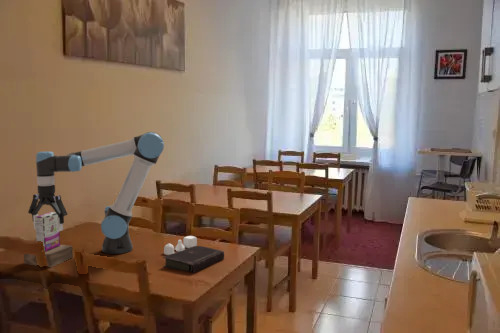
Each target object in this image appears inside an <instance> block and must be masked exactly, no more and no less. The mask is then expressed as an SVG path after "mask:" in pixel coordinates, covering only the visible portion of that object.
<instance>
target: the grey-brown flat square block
mask: <svg viewBox="0 0 500 333" xmlns="http://www.w3.org/2000/svg"><path fill="white" fill-rule="evenodd" d="M73 253H74V252H73V245H67V244H66V245H65V244H60V246H58V247H56V248H53V249H51V250H49V251H46V252H45V256H46V260H47V265H48V267H47V268H53V267H56V266H57V264H58V265H60V264H62V263H65V262H66V260H67V261H69V260H71V259H70V258H72V259H73V258H74V256H73V255H74V254H73ZM68 259H69V260H68ZM64 261H65V262H64ZM23 262H24V263H23V264H24V265H29V266H36V267H37V261H36V256H35V255H31V254H24V253H23Z"/></svg>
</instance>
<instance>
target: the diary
mask: <svg viewBox="0 0 500 333" xmlns="http://www.w3.org/2000/svg"><path fill="white" fill-rule="evenodd" d="M224 251H225V250H219V249H216V248H211V247H207V246H202V245H197V246H193V247H190V248H185V250H183V251H176V252H174V253H173V254H170V255H165V256H162V259H165V265H162V268H166V269H172V270H175V271H179V272H180V271H183V272H188V273H192V274H195V273H198V272H199V271H201V270H203V269H205V268H207V267H210V266H211V265H213V264H216V263H218V262H220V261H222V259H223V260H224V259H225V252H224Z"/></svg>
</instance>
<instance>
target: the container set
mask: <svg viewBox="0 0 500 333" xmlns="http://www.w3.org/2000/svg"><path fill="white" fill-rule="evenodd" d="M197 240H198V238H197V237H196V236H193V235H187V236H184V237H183V240H182V239H178V241H177V244H176V245H175V247H174V245H173V244H172V243H169V242H168V243H167V244H165V246H164V248H163V249H164V250H163V254H164V255H165V256H168V255H170V254H173V253H175V252H180V251H183V250H185V249H188V248H190V247H193V246H198V241H197ZM175 250H176V251H175Z"/></svg>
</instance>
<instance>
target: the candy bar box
mask: <svg viewBox="0 0 500 333" xmlns="http://www.w3.org/2000/svg"><path fill="white" fill-rule="evenodd" d="M57 217H58V215H57V213H56V212H55V211H49V212H47V213H44V214H41V215H39V216H37V217H35V225H36V229H35V237H36V239H35V241H36V242H37V241H41V242H43V246H44V251H45V252H46V251H49V250H51V249H53V248H56V247H58V246H60V245H61V235H60V234H61V233H60V231H58V224H57Z"/></svg>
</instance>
